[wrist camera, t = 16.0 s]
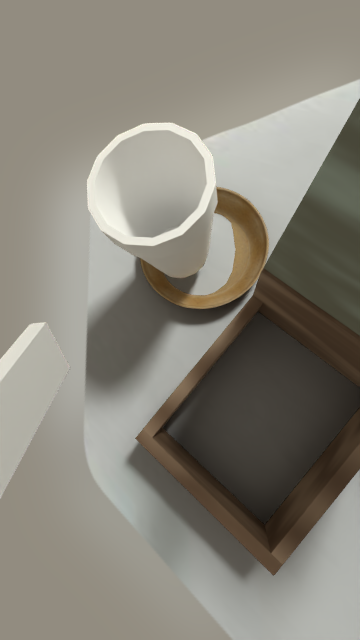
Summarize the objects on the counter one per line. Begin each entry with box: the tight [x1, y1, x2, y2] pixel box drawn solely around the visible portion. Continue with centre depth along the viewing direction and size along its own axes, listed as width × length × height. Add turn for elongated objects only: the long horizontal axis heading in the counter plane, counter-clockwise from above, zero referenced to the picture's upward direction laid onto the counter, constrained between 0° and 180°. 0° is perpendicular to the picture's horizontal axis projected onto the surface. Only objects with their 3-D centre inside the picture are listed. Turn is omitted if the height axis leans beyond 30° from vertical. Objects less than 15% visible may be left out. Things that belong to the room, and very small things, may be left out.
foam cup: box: [87, 123, 218, 278], centre depth 27 cm, size 10×9×13 cm
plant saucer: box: [140, 187, 269, 309], centre depth 34 cm, size 15×15×3 cm
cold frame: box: [135, 99, 360, 575], centre depth 18 cm, size 25×16×27 cm, turn 140°
